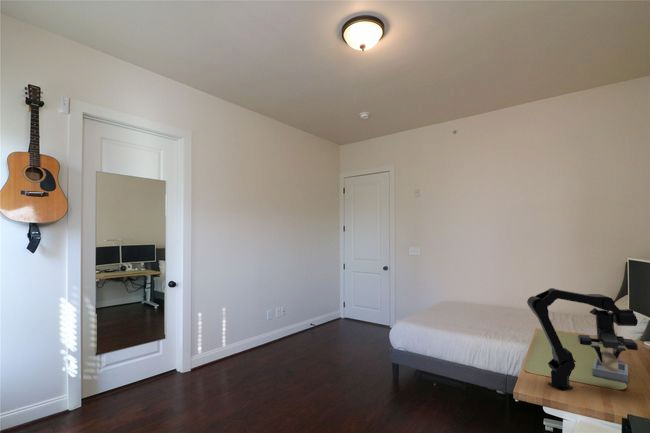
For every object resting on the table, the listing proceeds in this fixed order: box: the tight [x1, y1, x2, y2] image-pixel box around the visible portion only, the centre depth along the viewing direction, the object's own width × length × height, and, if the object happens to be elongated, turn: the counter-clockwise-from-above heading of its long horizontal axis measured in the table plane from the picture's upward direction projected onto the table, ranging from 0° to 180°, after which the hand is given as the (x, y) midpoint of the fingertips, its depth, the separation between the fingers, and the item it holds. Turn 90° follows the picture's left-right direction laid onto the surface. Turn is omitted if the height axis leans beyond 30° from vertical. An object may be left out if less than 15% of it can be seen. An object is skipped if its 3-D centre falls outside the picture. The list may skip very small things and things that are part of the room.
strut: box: [597, 348, 619, 372], centre depth 140 cm, size 4×12×5 cm, turn 152°
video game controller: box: [606, 348, 625, 364], centre depth 168 cm, size 10×5×7 cm, turn 150°
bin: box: [592, 358, 629, 384], centre depth 155 cm, size 15×12×4 cm
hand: (607, 362), depth 140 cm, fingers closed on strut, 4 cm apart
